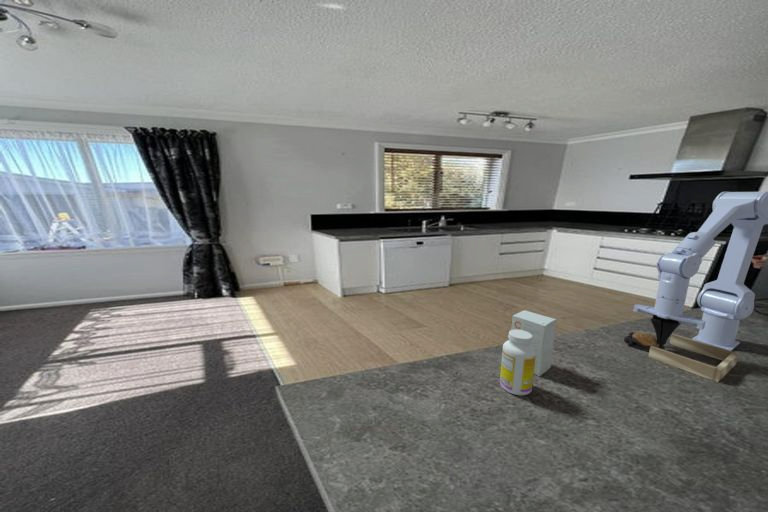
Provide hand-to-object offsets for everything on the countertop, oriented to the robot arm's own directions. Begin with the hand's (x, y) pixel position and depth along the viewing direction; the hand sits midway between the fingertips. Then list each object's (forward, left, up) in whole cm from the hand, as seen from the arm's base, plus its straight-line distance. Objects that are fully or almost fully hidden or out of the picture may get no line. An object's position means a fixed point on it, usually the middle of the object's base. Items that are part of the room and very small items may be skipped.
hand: (661, 343), depth 85 cm
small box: (+40, -13, -2) cm, 42 cm away
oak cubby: (0, +7, -2) cm, 7 cm away
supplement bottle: (+51, -9, -2) cm, 52 cm away
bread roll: (0, -4, -3) cm, 5 cm away
